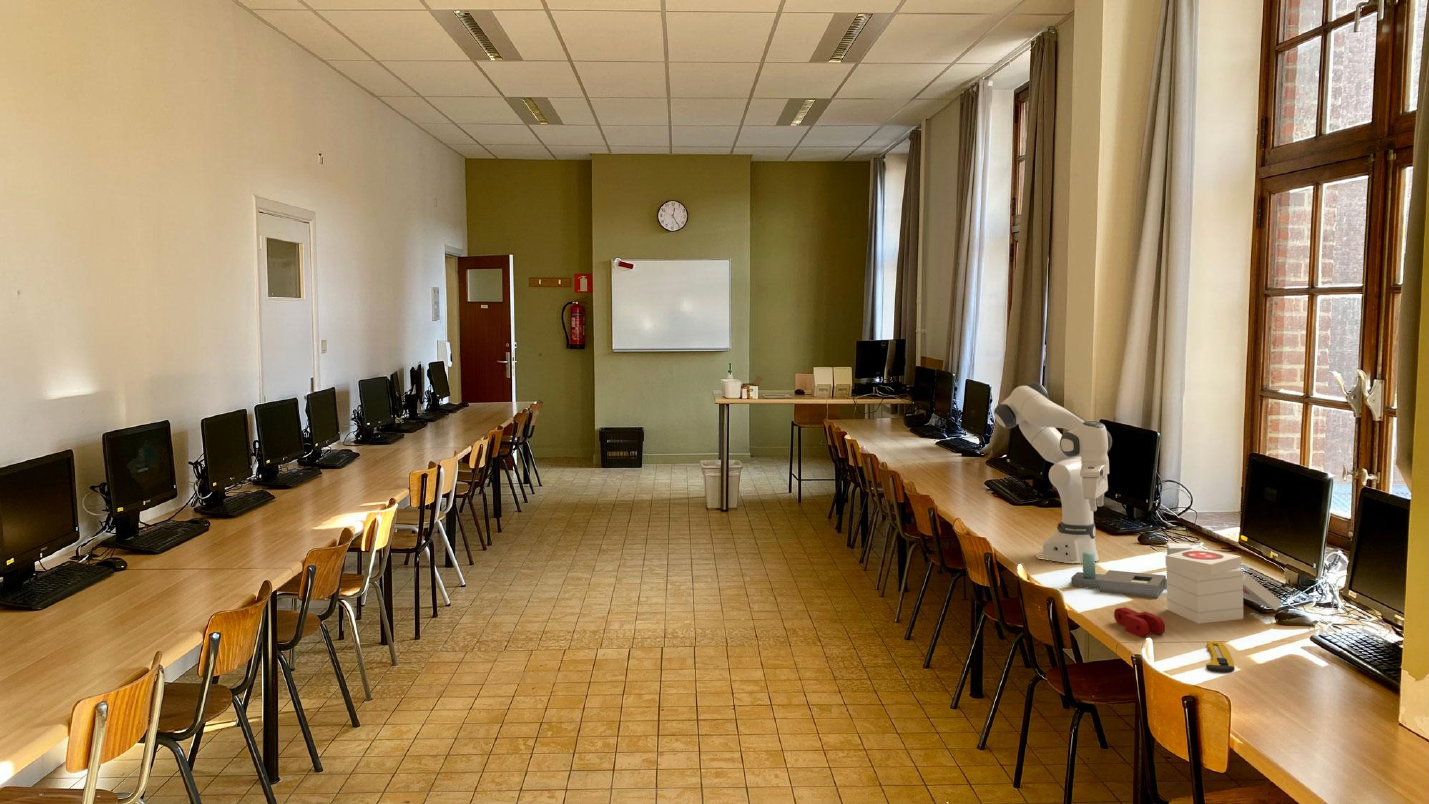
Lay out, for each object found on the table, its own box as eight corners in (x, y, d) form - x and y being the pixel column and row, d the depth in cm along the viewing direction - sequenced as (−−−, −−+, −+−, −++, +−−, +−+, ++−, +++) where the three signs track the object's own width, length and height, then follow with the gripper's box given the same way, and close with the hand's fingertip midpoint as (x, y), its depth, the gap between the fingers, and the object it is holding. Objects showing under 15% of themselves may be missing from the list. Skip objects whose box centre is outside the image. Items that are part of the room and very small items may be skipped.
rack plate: (1069, 588, 324) (1068, 576, 324) (1079, 578, 336) (1079, 566, 335) (1157, 597, 308) (1157, 585, 308) (1165, 587, 320) (1165, 574, 319)
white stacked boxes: (1287, 616, 284) (1286, 557, 282) (1195, 626, 279) (1194, 566, 278) (1242, 599, 302) (1242, 543, 301) (1156, 608, 298) (1155, 551, 297)
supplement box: (1190, 579, 328) (1190, 543, 327) (1193, 584, 321) (1193, 548, 320) (1167, 578, 330) (1166, 542, 329) (1169, 584, 323) (1169, 547, 322)
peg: (1081, 577, 327) (1081, 554, 326) (1084, 574, 330) (1084, 551, 329) (1093, 578, 324) (1093, 555, 324) (1096, 575, 327) (1096, 552, 327)
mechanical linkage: (1165, 636, 273) (1164, 619, 272) (1144, 639, 271) (1143, 622, 271) (1127, 620, 288) (1127, 604, 288) (1107, 623, 286) (1107, 607, 286)
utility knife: (1207, 673, 244) (1207, 665, 244) (1196, 644, 265) (1196, 637, 265) (1237, 675, 242) (1237, 667, 242) (1224, 646, 263) (1224, 639, 263)
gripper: (1092, 464, 336) (1094, 502, 337) (1078, 472, 320) (1080, 513, 320) (1111, 464, 333) (1113, 503, 334) (1098, 473, 316) (1099, 514, 317)
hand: (1096, 508), depth 327 cm, fingers open, 8 cm apart
